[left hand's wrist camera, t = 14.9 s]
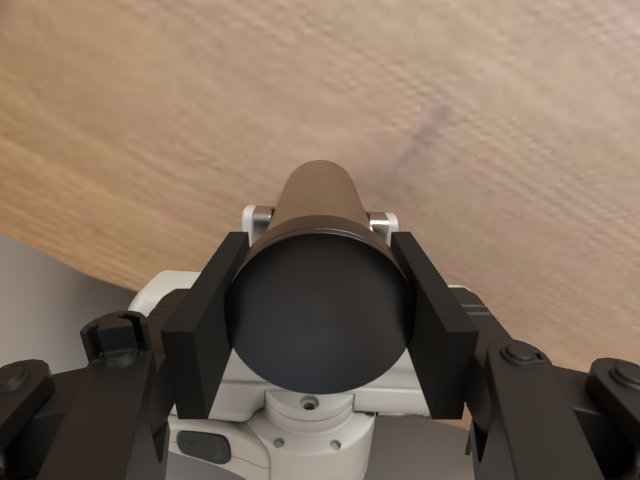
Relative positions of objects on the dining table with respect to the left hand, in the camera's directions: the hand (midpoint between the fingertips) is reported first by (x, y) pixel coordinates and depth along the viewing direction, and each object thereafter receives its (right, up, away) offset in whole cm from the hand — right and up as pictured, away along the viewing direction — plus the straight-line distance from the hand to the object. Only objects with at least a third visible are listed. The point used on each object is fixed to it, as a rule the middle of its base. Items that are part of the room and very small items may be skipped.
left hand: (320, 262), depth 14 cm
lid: (0, -1, -4) cm, 4 cm away
